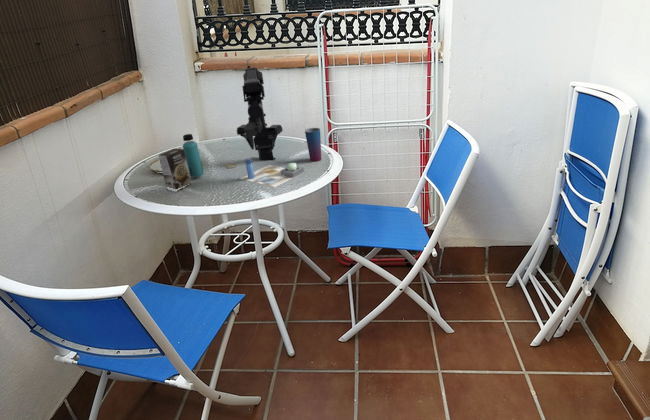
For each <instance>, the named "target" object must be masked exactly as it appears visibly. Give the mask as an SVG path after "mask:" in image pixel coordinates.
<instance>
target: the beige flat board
mask: <svg viewBox="0 0 650 420" xmlns="http://www.w3.org/2000/svg"><path fill="white" fill-rule="evenodd" d="M285 168H286V167H281V166H276V165H271V164H269V165H266V166H264V167H261V168H260V169H257V170H256V171H254V176H255V178H253V179H248V174H247V175H245V176H243V177H241V178H240V180H241V181H248V182H252V183H255V184H259V185H265V186H269V187H271V188H272V187H274V188H277V187H278V186H281V185H282V184H284V183H286V182H288V181H290V180H292V179H294V178H295V177H297V176H299V175H297V176H295V177H294V178H293V177H288V176H283V175H281V170H283V169H285Z"/></svg>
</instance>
